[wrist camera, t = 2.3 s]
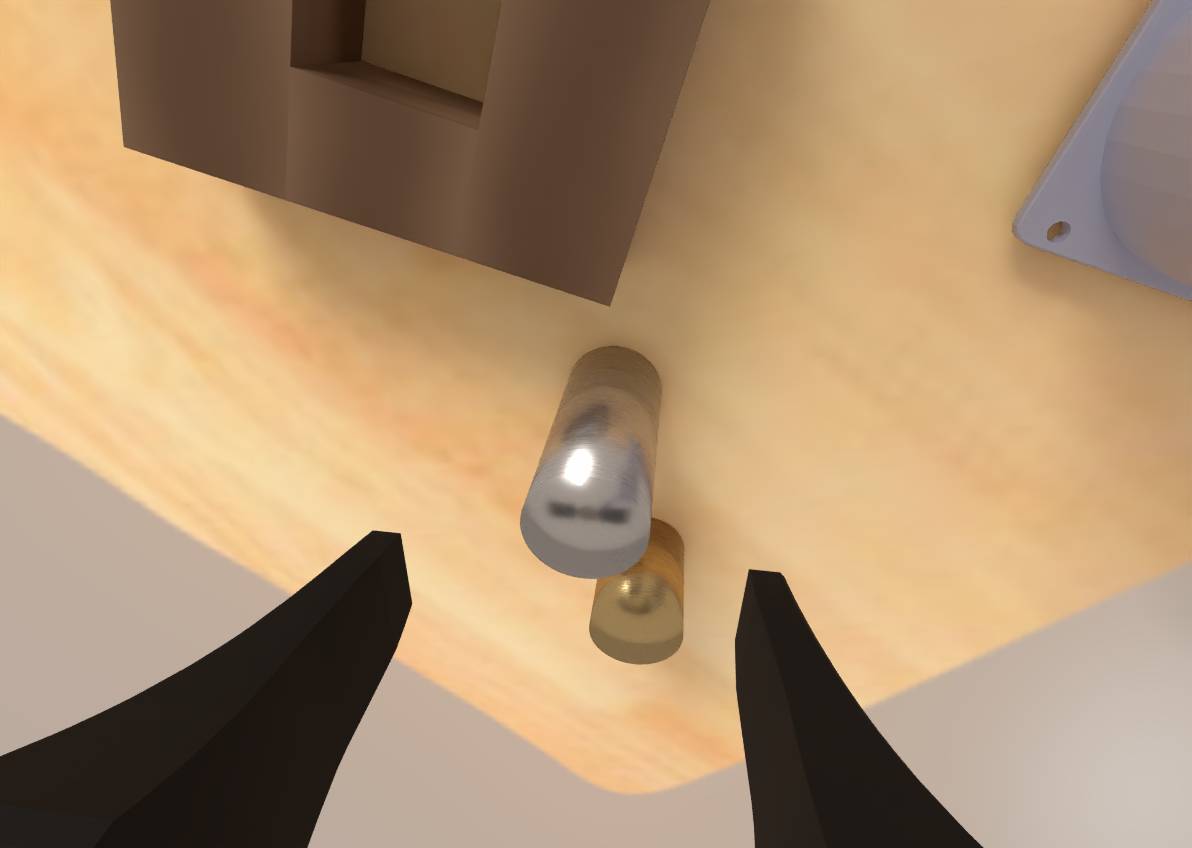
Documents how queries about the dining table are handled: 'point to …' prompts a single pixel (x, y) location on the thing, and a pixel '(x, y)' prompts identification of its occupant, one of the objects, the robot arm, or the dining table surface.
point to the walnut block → (422, 122)
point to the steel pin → (597, 468)
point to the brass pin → (643, 603)
